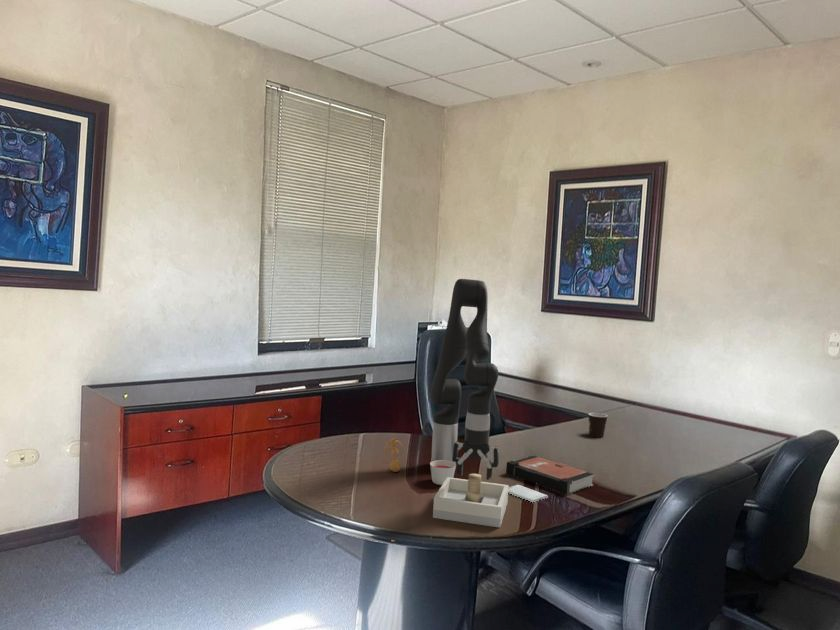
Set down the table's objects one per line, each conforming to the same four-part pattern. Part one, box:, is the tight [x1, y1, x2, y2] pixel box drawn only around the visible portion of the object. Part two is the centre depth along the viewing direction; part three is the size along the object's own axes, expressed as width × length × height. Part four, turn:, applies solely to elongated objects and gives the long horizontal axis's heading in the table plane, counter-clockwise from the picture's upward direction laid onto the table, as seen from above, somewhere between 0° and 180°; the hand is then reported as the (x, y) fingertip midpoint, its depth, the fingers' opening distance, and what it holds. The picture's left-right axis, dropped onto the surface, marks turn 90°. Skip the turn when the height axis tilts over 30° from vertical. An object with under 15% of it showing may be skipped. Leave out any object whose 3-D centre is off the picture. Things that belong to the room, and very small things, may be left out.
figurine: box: [383, 437, 406, 473], centre depth 227 cm, size 8×6×12 cm
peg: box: [467, 473, 482, 503], centre depth 196 cm, size 4×4×10 cm
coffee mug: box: [587, 412, 608, 439], centre depth 294 cm, size 12×9×10 cm
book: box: [505, 455, 595, 496], centre depth 226 cm, size 26×18×5 cm
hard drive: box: [508, 484, 549, 504], centre depth 209 cm, size 2×8×12 cm
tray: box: [432, 477, 510, 528], centre depth 193 cm, size 20×20×6 cm
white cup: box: [429, 460, 457, 486], centre depth 218 cm, size 9×9×6 cm
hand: (474, 477), depth 196 cm, fingers open, 8 cm apart
